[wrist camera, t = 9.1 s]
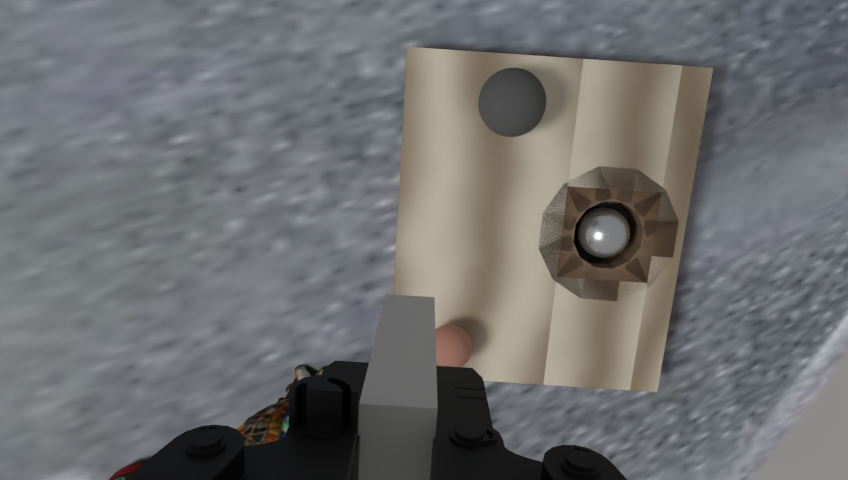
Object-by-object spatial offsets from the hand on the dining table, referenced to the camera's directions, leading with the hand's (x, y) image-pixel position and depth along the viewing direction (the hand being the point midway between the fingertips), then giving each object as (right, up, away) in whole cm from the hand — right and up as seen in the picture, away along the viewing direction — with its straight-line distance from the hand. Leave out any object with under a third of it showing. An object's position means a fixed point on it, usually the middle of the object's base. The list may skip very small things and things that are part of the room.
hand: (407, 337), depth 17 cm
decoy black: (+6, +11, +16) cm, 20 cm away
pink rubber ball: (+2, -4, +20) cm, 20 cm away
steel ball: (+13, +3, +20) cm, 24 cm away
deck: (+8, +4, +22) cm, 24 cm away
